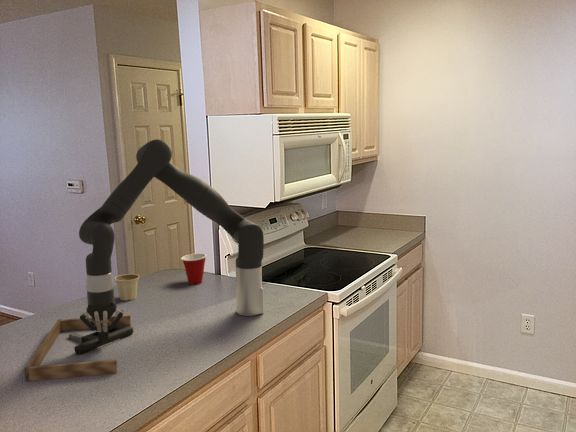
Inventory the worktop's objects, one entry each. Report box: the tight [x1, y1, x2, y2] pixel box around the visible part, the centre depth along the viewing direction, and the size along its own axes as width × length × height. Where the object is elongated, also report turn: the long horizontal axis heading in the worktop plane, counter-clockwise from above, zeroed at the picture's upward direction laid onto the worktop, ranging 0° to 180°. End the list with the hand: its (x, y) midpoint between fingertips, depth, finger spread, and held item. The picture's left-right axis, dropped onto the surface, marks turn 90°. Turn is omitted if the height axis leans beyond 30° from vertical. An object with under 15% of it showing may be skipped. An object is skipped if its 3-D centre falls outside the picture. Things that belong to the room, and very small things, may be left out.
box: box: [24, 314, 132, 382], centre depth 154 cm, size 23×36×4 cm, turn 11°
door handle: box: [68, 323, 134, 356], centre depth 161 cm, size 3×20×16 cm
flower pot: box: [113, 273, 140, 301], centre depth 200 cm, size 9×9×9 cm
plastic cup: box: [181, 252, 207, 285], centre depth 220 cm, size 11×11×12 cm
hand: (103, 342), depth 155 cm, fingers closed
